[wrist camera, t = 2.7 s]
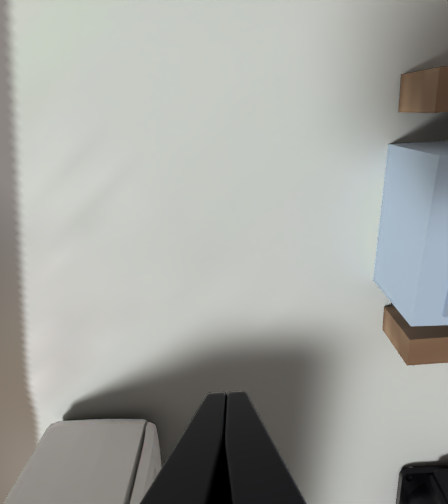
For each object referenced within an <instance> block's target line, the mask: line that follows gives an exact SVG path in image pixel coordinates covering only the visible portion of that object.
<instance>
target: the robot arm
mask: <svg viewBox="0 0 448 504" xmlns="http://www.w3.org/2000/svg"><path fill="white" fill-rule="evenodd" d="M139 504H307V503H306V502H305V500H304V498H303V496H302V494H301V492H300V490H299V489H298V487H297V485H296V483H295V481H294V479H293V477H292V476H291V474H290V472H289V470H288V468H287V466H286V464H285V462H284V461H283V459H282V457H281V455H280V453H279V451H278V449H277V448H276V446H275V444H274V442H273V440H272V438H271V436H270V435H269V433H268V431H267V429H266V427H265V425H264V423H263V422H262V420H261V418H260V416H259V414H258V412H257V410H256V408H255V407H254V405H253V403H252V401H251V399H250V397H249V395H248V394H247V392H246V391H244V390H241V391H229V392H228V393H227V394H226V393H225V392H211V393H208V394H207V395H206V397H205V398H204V400H203V401H202V403H201V405H200V406H199V408H198V409H197V411H196V413H195V414H194V416H193V418H192V419H191V421H190V422H189V424H188V426H187V427H186V429H185V431H184V432H183V434H182V435H181V437H180V439H179V440H178V442H177V443H176V445H175V447H174V448H173V450H172V452H171V453H170V455H169V456H168V458H167V460H166V461H165V463H164V465H163V466H162V468H161V469H160V471H159V473H158V474H157V476H156V477H155V479H154V481H153V482H152V484H151V486H150V487H149V489H148V490H147V492H146V494H145V495H144V497H143V499H142V500H141V502H140V503H139ZM396 504H448V466H435V467H415V468H404V469H402V470H401V471H400V473H399V481H398V490H397V498H396Z"/></svg>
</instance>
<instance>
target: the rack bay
mask: <svg viewBox="0 0 448 504" xmlns="http://www.w3.org/2000/svg"><path fill="white" fill-rule="evenodd" d="M447 111H448V66H442V67H436V68H431V69H426V70H422V71H417V72H412V73H407V74H402V75H401V85H400V98H399V112H414V113H438V112H447ZM383 331H384V332H385V334H386V335H387V337H388V338H389V340H390V341H391V343H392V344H393V345H394V347H395V348H396V350H397V351H398V353H399V354H400V356H401V357H402V359H403V360H404V362H405V363H406V365H419V364H434V363H448V325H437V326H410V325H409V323H408V322H407V321H406V320H405V319H404V317H403V316H402V315H401V314H400V312H399V311H398V310H397V309H396V308H395V306H386V307H384V317H383Z"/></svg>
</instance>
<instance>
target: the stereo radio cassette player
mask: <svg viewBox="0 0 448 504" xmlns="http://www.w3.org/2000/svg"><path fill="white" fill-rule="evenodd" d="M161 468H162V467H161V457H160V447H159V440H158V434H157V428H156V426H155V424H153V423H151V422H147V420H144V419H88V420H70V421H58V422H56V423H53V424H51V425H50V426H49V427H48V428H47V429H46V431H45V433H44V434H43V436H42V438H41V440H40V441H39V443H38V445H37V446H36V448H35V450H34V452H33V453H32V455H31V457H30V459H29V460H28V462H27V464H26V465H25V467H24V469H23V470H22V472H21V474H20V476H19V477H18V479H17V481H16V482H15V484H14V486H13V488H12V489H11V491H10V493H9V494H8V496H7V498H6V500H5V501H4V503H3V504H139V503H140V502H141V500H142V499H143V497H144V495H145V494H146V492H147V490H148V489H149V487H150V486H151V484H152V482H153V481H154V479H155V477H156V476H157V474H158V473H159V471H160V469H161Z"/></svg>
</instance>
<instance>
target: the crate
mask: <svg viewBox="0 0 448 504" xmlns="http://www.w3.org/2000/svg"><path fill="white" fill-rule="evenodd" d="M373 281H374V282H375V283H376V284H377V285H378V287H379V288H380V289H381V290H382V292H383V293H384V294H385V295H386V297H387V298H388V299H389V300H390V301H391V303H392V304H393V305H394V306H395V308H396V309H397V310H398V311H399V312H400V314H401V315H402V316H403V317H404V319H405V320H406V321H407V322H408V323H409V325H410V326H437V325H448V141H433V142H416V143H400V144H388V153H387V162H386V170H385V179H384V188H383V197H382V206H381V215H380V224H379V233H378V242H377V251H376V260H375V269H374V277H373Z"/></svg>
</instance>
